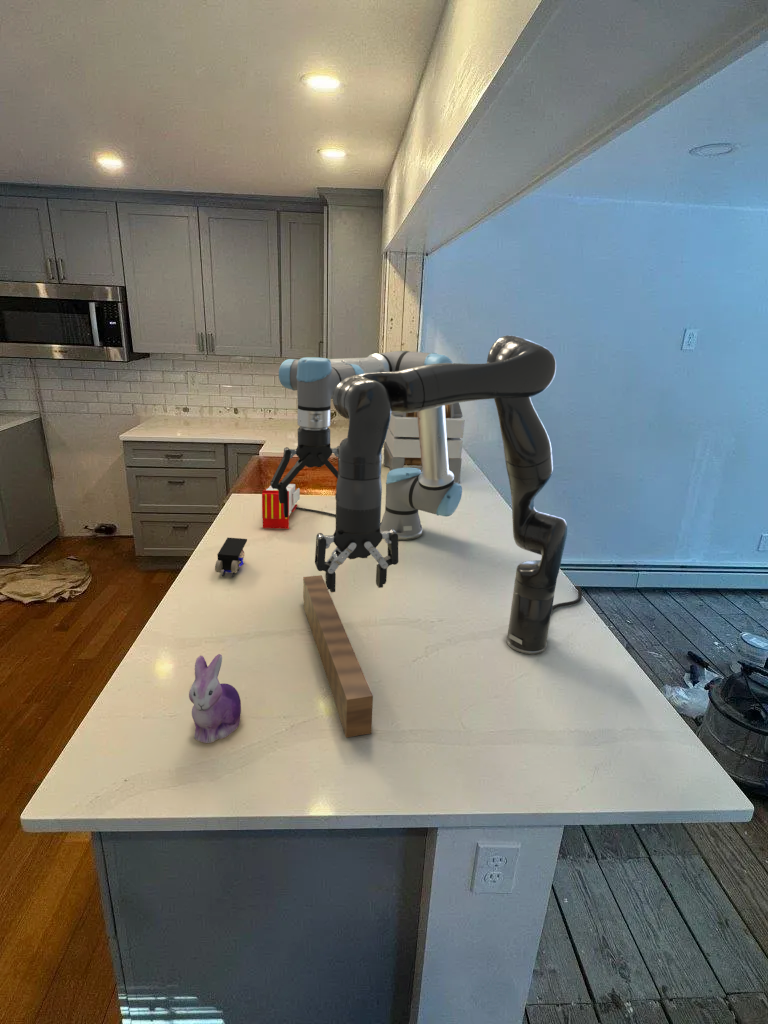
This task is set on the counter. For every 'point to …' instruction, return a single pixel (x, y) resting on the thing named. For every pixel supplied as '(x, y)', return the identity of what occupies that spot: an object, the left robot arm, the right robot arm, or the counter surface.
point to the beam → (338, 659)
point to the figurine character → (230, 556)
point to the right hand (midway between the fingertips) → (356, 588)
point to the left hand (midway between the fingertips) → (313, 513)
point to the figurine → (213, 702)
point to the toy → (278, 507)
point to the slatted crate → (406, 444)
